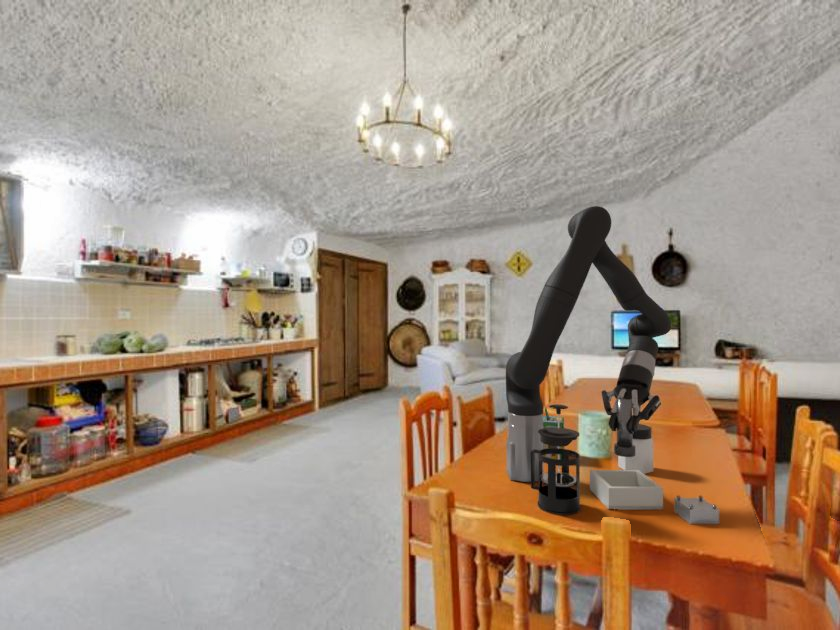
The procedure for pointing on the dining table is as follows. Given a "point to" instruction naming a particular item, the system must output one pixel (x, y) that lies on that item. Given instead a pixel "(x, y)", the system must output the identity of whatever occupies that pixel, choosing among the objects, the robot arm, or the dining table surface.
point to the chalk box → (552, 423)
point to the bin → (626, 490)
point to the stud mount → (696, 510)
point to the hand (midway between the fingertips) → (621, 430)
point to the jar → (640, 452)
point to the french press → (558, 489)
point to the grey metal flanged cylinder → (624, 428)
